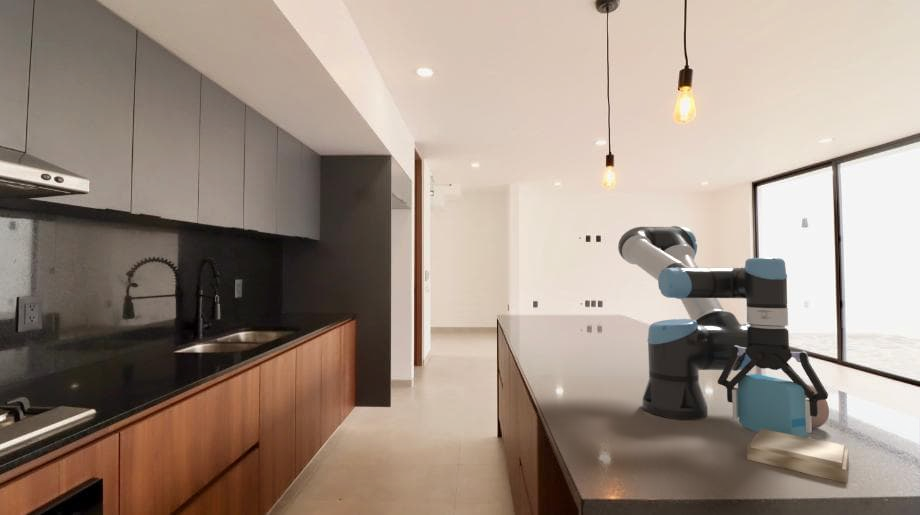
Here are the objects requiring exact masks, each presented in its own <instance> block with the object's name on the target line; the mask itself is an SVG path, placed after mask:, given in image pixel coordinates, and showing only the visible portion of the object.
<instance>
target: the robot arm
mask: <svg viewBox="0 0 920 515" xmlns="http://www.w3.org/2000/svg"><path fill="white" fill-rule="evenodd" d="M617 245H618V246H617V250H618V252H619V255H620V257H621V258H622V259H623V260H624V261H626V262H627V263H629V264H631V265H636V266H638V267H639V268H641V269H642V270H643V271H644V272H645V273H647V274H648V275H650V276H651V277H653V278H654V279H655V280H656V281H657V284H658V289H659V291H660V294H661V295H662V296H663V297H665V298H671V299H672V298H673V299H678V300H679V299H680V301H681V302H682V304H683V307H684V308H685V311H686V313H687V314H688V316H689V318H679V319H676V318H675V319H672V318H671V319H665V320H664V319H663V320H660V321H655V322H652V323H651V324H650V325H649V327H648V333H647V334H648V335H647V343H648V344H647V347H648V350H647V351H648V382H647V385H646V387H645V390H644V393H643V397H642V409H643V410H644V411H646V412H648V413H650V414H652V415H656V416H660V417H663V418H669V419H670V418H671V419H677V420H699V419H700V420H701V419H705V418H706V417H707V416H708V414H709V413H708V411H709V410H708V404H707V401H706V399H705V396H704V394H703V391H702V388H701V385H700V383H699V382H700V381H699V380H700V379H699V376H700V375H699V371H722V372H721V374H720V376H719V378H718V379H717V384H719V385H722V386H723V387H725V388H726V393H727V394H726V398H727V399H726V400H727V402H728V403H731V404H732V419H735V420H737V419H739V402H738V387H735V386H736V385H738V382H739V381H740V380H741V379H742V378H743V377H744V376H745V375H748V374H749V372H750V371H751V370H752V369H753V368H754V367H757V368H759V369H763V370H764V369H765V370H766V369H769V370H773V371H777V370H781V371H782V372H783V373H784V374H785V375H787V377H788V378H789V379H790V380H791V382H794V383H796V384H798V385H800V386H801V387H802V388H803V389H804V393H805V395H806V396H807V397H808V398H806V399H805V421H806V433H810V434H811V432H812V431H813V430H812V429H813V428H812V423H811V416H815V417H816V416H817V414H818V407H817V401H818V400H826V401H827V400H828V397H829V394H828V393H829V392H827V390H826V388H825V387H824V385H823V383H822V382H821V380H820V377H819V376H818V374H816V371H815V369H814V368H813V367H812V365H811V363H810V358H809V354H808V352H807V351H805V350H802V351H791V349H790V341H789V340H790V339H789V337H790V335H789V330H788V328H786V327H787V326H789V317H788V316H789V314H788V313H789V310H788V287H787V286H788V284H787V280H788V274H787V270H786V262H785V260H784V259H783V258H781V257H752V258H747V259H746V261H745V265H744V267H699V266H698V265H697V263H696V262H695V257H696V254H697V252H698V244H697V239H696V235H695V234H694V232H693V231H692V230H691V229H689V228H687V227H683V226H677V225H673V226H638V227H636V226H635V227H634V228H630V229H629V230H627V231H625V233H624V234H622V235H621V237H620V239H619V241H618V244H617ZM719 299H745V301H746V323H747V324H746V323H744V324H741V323H740V322H739V320H738V319H737V317H736V315H735V314H733V313H732V312H731V311H729V310H725V309H724V308H723V306H722V304H721V303H720V301H719ZM792 358H794V359H795V360H796V362H798V363H800V365H801V367H802V370H803V371H804V373H805V374H806V376H807V378H808V379H809V380H810V382H811V384H812V386H814V388H815V389H816V391H817V393H814V392H813V391H812V389H811V388H810V387H809V386H808V385H809V384H807V383H806V382H805V381H804V380H803V378H802V377H801V376H800V375H799V374H798V373H797V372H796V371H795V369H793V368H792V366H791V364H789V363H788V362H789V361H790V360H791V359H792ZM732 371H733V372H737V371H738V372H737V374H736V375H735V376H734V377H733V378H732V379H730V380H728V378H729V376H730V375H731V372H732Z"/></svg>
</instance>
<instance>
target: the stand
mask: <svg viewBox="0 0 920 515" xmlns="http://www.w3.org/2000/svg"><path fill="white" fill-rule="evenodd" d="M746 451H747V452H746V453H747V454H746V455H747V457H746V458H747V460H748V461H752V462H757V463H762V464H765V465H768V466H769V465H770V466H774V467H777V468H778V467H779V468H783V469H787V470H790V471H793V472H799V473H804V474H806V475H807V474H808V475H811V476H816V477H820V478H823V479H826V480H831V481H835V482H840V483H844V484H847V482H848V473H849V471H848V470H849V458H850V457H849V449H848V448H845V444H840V443H836V442H830V441H826V440H820V439H816V438H810V437H807V436H806V437H801V436H796V435H790V434H785V433H780V432H775V431H770V430H765V429H760V431H759V432H756V434H755V436H754V437H753V439H752V440H751V441H750V443H749V444H748V445H747V447H746Z"/></svg>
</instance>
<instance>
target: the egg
mask: <svg viewBox="0 0 920 515" xmlns="http://www.w3.org/2000/svg"><path fill="white" fill-rule="evenodd" d="M807 385H808V386H809V387H810V388H811V389H812V391H813V392H814V393H817V391H816V389H815V388H814V386H813V384H812V385H811V384H807ZM806 398H808V397H807V396H806V395H805V399H806ZM817 407H818V414H817V416H816V417H815V416H811V423H812V429H818V428H820V427H822V426H824V425H825V424H826V422H827V421H828V419H829V415H830V407H829V404H828V401H827V399H826V400H818V401H817Z"/></svg>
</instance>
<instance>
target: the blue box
mask: <svg viewBox="0 0 920 515" xmlns="http://www.w3.org/2000/svg"><path fill="white" fill-rule="evenodd" d="M737 388H738V402H739V417H738V420H739V423H740V425H741V426H742V427H743V428H745V429H746V430H750V431H753V432H756V433H758V432H759V431H760V429H765V430H770V431H775V432H780V433H785V434H790V435H796V436H801V437H806V438H807V432H806V421H805V393H804V389H803V388H802V387H801V386H800V385H798V384H796V383H794V382H793V381H792V380H791V381H789V380H785V379H781V378H776V377H772V376H768V375H762V374H757V373H751V374H746V375H745V376H744V377H743V378H742V379H741V380H740V381H739V382H738V383H737Z"/></svg>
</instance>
